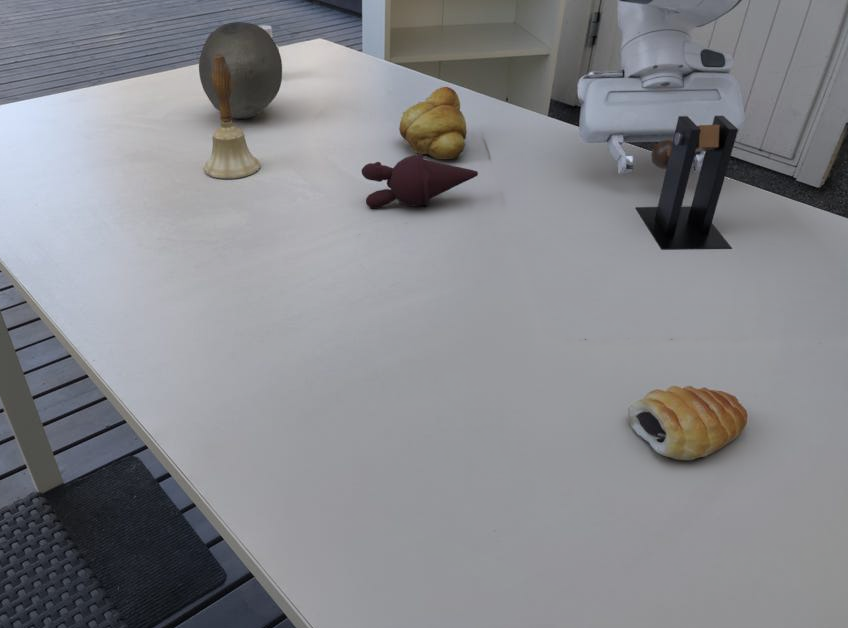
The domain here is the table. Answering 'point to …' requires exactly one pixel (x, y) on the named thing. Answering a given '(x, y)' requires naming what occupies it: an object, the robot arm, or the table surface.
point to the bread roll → (435, 125)
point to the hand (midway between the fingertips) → (663, 171)
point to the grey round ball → (243, 67)
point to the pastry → (687, 421)
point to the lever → (705, 143)
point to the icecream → (413, 180)
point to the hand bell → (228, 133)
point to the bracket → (695, 222)
